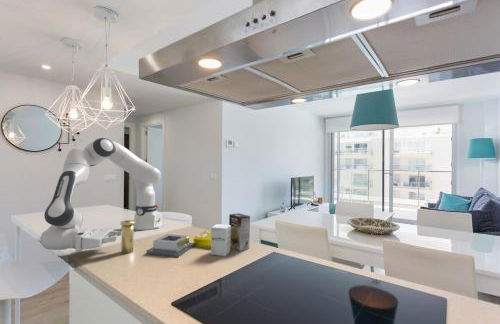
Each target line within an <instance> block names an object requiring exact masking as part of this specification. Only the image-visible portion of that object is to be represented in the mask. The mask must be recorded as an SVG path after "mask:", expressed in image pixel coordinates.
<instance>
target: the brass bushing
mask: <svg viewBox="0 0 500 324" xmlns="http://www.w3.org/2000/svg"><path fill="white" fill-rule="evenodd" d="M134 224H135V221H134V219H130V220H129V219H128V220H122V221H120V225H121V232H122V235H121V240H120V242H121V245H120V246H121V249H120V251H121V252H120V253H121V254H123V255H127V254H132V253H134V235H135V233H134V232H135V231H134V230H135V229H134Z"/></svg>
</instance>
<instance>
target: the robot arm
mask: <svg viewBox="0 0 500 324" xmlns="http://www.w3.org/2000/svg"><path fill="white" fill-rule="evenodd" d="M106 159H107V160H110V161H111V162H112V163H113V164H115V165H116V166H118V167H119V168H120V169H121V170H123V171H124V172H127V173H128V174H130V175H132V178H133V180H134V186H135V192H136V204H135V213H134V217H133V220H134V221H135V224H134V230H138V231H142V230H143V231H146V230H147V231H149V230H156V229H160V228H162V227H164V225H166V224H167V222H166V221H165V220H164V218H163V214H161V213H160V212H159V211H158V208H159V207H160V205H159V204H156V192H155V189H154V186H153V185H154V184H157V183H159V181H160V180H161V177H162V173H161V171H160V170H159V169H158V168H156V167H155V166H154V165H151V164H150V163H148V162H146V161H145V160H143V159H141V158H140V157H139V156H137V155H136V154H134V153H133V152H132V151H131V150H129V149H128V148H126V147H125V146H123V144H121V143H118V142H116V141H114V140H111V139H109V138H106V137H100V138H96V139H95V140H93V141H92V142H90V143H88V144H87V145H86V146H85V147H84V148H82V147H74V148H71V149H70V150H69V151H68V153H67V155H66V157H65V160H64V163H63V168H62V173H61V174H60V176H59V178H58V181H57V184H56V187H55V189H54V194H53V196H52V200H51V201H50V203H49V204H48V206H47V207H46V209H45V210H44V211H45V212H44V215H43V217H44V220H45V222H47V223H48V224H49V225H50V226H49V227H48V228H47V229H46V230H44V231H43V232H42V233H41V236H40V243H41V246H42V247H43V248H44V249H45V250H51V251H54V250H55V251H62V250H63V251H64V250H67V249H74V250H75V251H76V252H81V251H82V250H90V249H91V250H92V249H96V248H100V247H101V246H102V245H103V244H107V243H114V242H116V240H117V237H118V236H119V237H122V230H121V231H120V230H119V231H117V230H114V228H113V227H104V228H97V229H92V228H91V227H82V224H83V221H84V217H83V214H82V213H81V212H80V211H79V210H78V209H76V208H75V207H73V205H72V201H71V199H72V197H73V192H74V188H75V186H81V185H83V184H85V183H86V182H87V181H88V178H89V177H90V172H91V171H90V170H91V167H95V166H97V165H98V164H101V163H102V162H104V161H105V160H106Z"/></svg>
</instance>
